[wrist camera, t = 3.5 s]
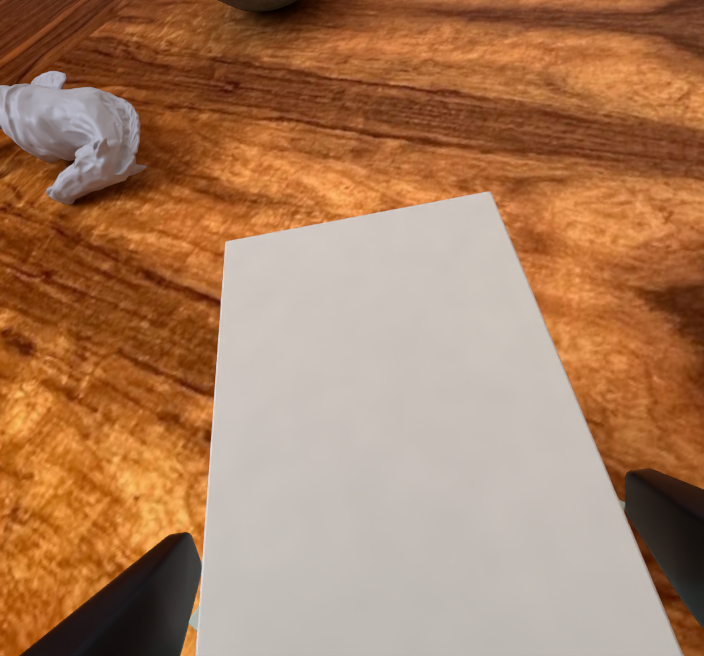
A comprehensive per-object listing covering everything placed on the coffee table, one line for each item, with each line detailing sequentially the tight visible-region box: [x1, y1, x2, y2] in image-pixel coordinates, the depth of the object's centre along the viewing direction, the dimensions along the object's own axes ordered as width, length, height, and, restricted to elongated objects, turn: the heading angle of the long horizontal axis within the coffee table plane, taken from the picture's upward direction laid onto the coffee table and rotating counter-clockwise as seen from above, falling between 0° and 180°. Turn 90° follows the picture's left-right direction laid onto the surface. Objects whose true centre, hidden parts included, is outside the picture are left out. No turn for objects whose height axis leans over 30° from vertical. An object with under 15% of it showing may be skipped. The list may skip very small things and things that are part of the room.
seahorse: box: [0, 71, 146, 205], centre depth 31 cm, size 5×12×20 cm
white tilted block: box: [196, 192, 684, 656], centre depth 11 cm, size 5×7×12 cm
